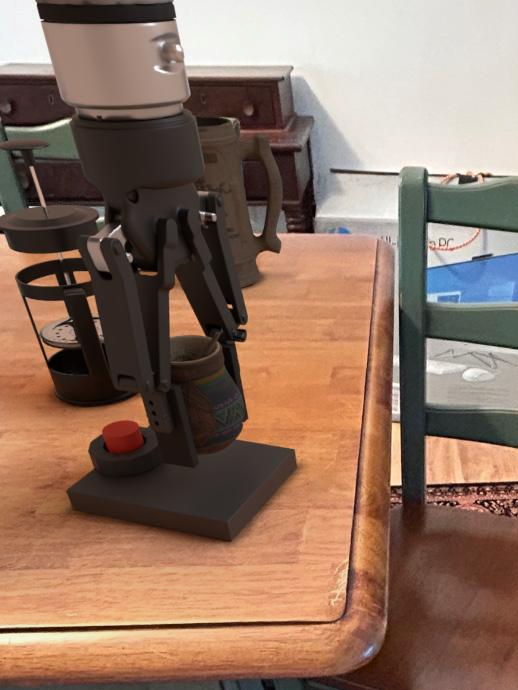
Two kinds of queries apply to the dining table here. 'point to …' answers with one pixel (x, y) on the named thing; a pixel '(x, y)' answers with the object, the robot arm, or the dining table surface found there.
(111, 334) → the robot arm
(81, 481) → the scale
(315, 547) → the dining table surface
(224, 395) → the mate gourd
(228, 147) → the beer stein
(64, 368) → the french press
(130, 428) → the button
